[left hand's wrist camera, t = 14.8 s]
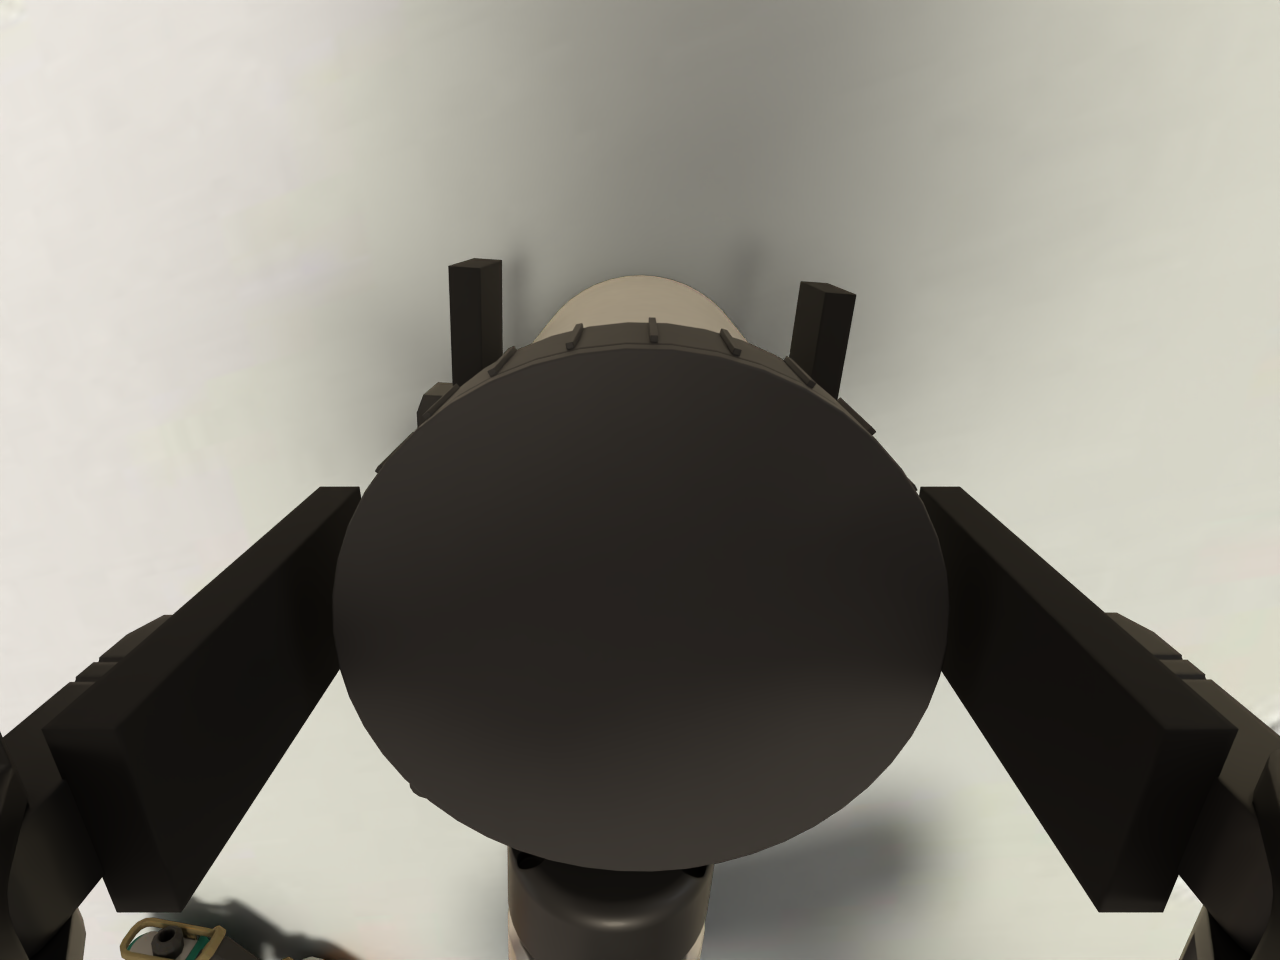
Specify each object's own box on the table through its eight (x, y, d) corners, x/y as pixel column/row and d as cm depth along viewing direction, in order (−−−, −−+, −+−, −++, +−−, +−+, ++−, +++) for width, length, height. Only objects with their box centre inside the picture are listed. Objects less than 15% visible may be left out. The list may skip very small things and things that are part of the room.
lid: (268, 508, 12) (189, 572, 10) (740, 192, 10) (767, 188, 8) (573, 839, 15) (562, 943, 13) (982, 644, 13) (1048, 728, 11)
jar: (663, 224, 23) (702, 251, 9) (793, 410, 26) (988, 667, 11) (483, 368, 25) (274, 583, 11) (620, 529, 28) (599, 879, 13)
